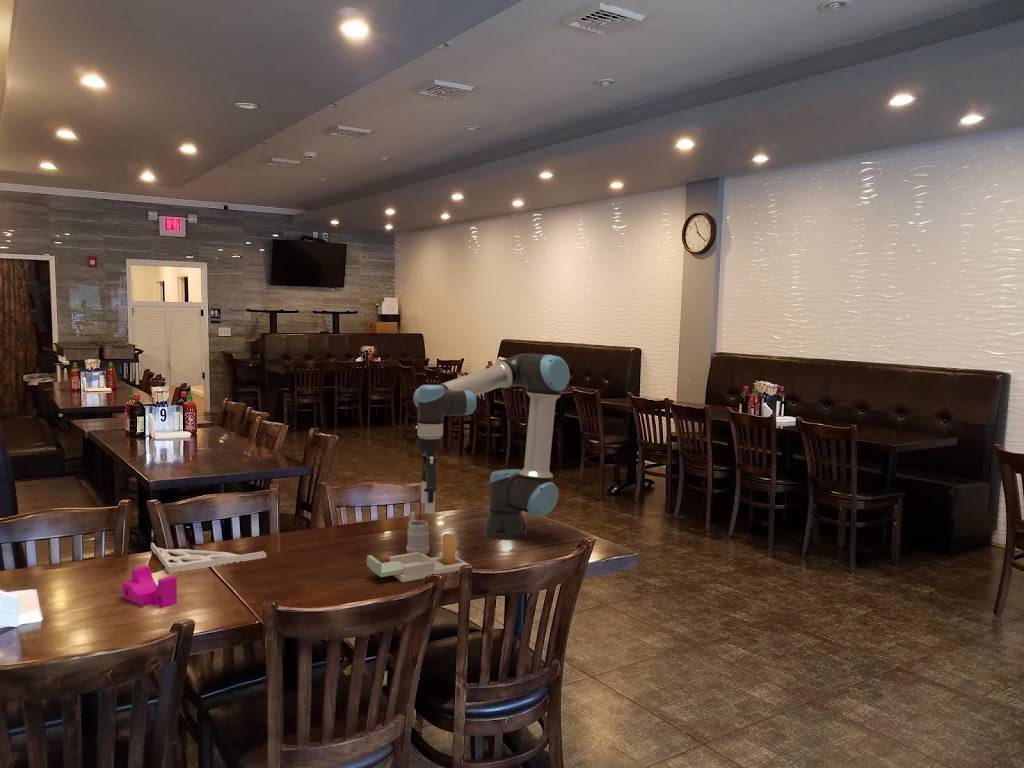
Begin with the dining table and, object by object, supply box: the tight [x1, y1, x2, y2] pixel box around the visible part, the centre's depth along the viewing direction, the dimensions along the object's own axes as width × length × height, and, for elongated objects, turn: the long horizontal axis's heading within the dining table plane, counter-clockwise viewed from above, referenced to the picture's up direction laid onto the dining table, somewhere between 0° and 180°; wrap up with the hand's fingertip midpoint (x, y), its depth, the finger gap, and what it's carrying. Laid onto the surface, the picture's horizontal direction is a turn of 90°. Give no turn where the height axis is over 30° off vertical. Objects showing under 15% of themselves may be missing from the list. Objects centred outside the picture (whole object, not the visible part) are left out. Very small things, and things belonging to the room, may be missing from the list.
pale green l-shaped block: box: [366, 554, 405, 578], centre depth 219 cm, size 10×8×4 cm
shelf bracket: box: [150, 542, 267, 574], centre depth 239 cm, size 28×28×3 cm
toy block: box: [121, 565, 178, 609], centre depth 198 cm, size 15×6×8 cm, turn 55°
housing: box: [388, 552, 470, 583], centre depth 226 cm, size 22×11×4 cm, turn 123°
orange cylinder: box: [441, 533, 457, 565], centre depth 230 cm, size 4×4×10 cm
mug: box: [405, 511, 431, 556], centre depth 245 cm, size 8×12×12 cm, turn 27°
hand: (427, 507), depth 224 cm, fingers open, 13 cm apart
